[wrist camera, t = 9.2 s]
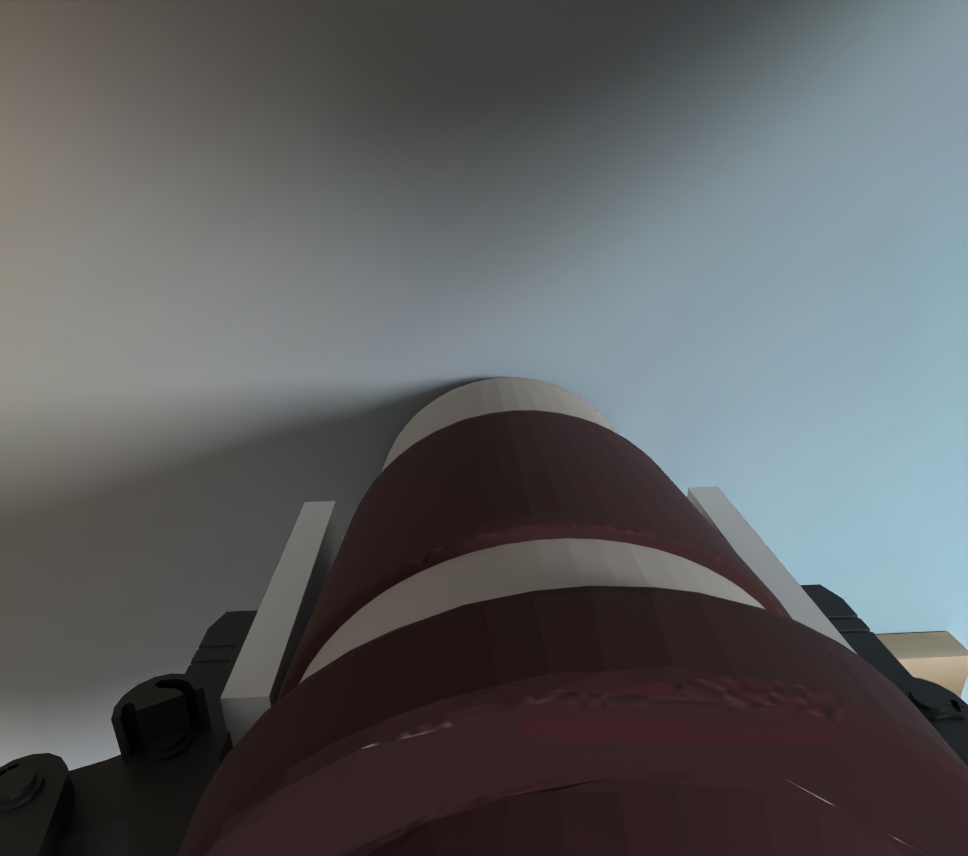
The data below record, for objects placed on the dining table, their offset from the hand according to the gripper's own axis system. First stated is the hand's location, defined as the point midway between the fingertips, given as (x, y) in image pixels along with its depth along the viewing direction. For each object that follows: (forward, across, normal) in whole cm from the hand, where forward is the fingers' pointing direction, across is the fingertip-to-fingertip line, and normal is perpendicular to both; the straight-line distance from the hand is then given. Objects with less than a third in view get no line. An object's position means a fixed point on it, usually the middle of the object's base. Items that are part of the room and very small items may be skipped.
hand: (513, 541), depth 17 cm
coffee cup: (+3, 0, 0) cm, 3 cm away
